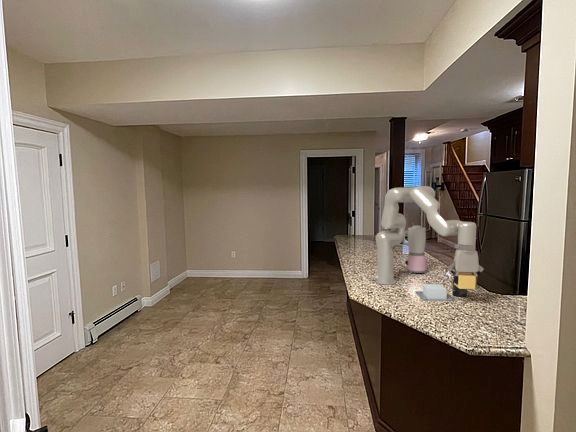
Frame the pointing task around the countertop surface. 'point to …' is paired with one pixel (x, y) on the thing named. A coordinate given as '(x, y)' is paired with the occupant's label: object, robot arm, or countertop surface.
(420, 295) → the building plate
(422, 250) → the blender
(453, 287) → the supplement bottle
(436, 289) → the grey brick
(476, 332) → the countertop surface
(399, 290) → the countertop surface
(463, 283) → the yellow cube
